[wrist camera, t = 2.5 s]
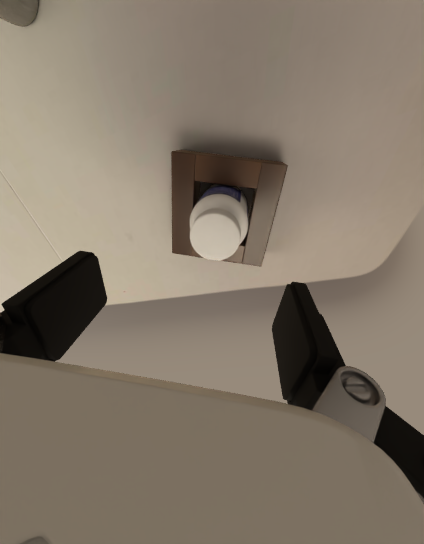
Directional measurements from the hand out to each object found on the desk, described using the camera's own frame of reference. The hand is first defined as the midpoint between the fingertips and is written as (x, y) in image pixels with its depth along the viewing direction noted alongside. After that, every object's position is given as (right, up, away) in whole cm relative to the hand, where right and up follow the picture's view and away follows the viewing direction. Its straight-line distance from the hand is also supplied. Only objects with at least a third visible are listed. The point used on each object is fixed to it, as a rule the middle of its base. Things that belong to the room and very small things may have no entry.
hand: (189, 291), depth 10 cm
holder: (+2, +8, +13) cm, 16 cm away
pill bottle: (+2, +8, +13) cm, 16 cm away
